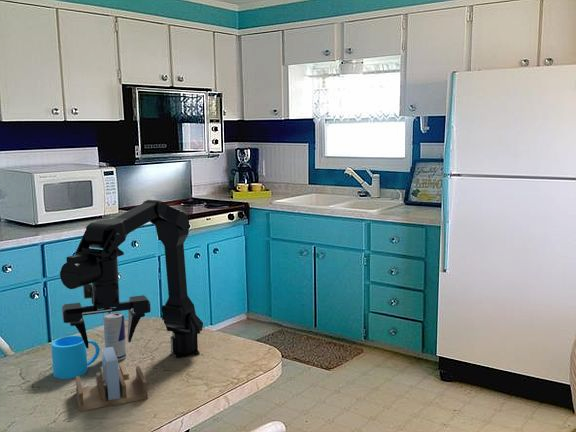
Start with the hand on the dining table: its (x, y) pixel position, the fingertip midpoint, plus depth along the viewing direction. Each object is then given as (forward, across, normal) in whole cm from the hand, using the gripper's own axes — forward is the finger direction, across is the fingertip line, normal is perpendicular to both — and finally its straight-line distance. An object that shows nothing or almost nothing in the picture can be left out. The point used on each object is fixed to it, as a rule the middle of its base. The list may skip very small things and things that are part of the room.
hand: (108, 344), depth 135 cm
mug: (+12, +6, -19) cm, 24 cm away
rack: (+12, 0, 0) cm, 12 cm away
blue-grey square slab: (+11, 0, 0) cm, 11 cm away
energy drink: (+12, -4, -23) cm, 27 cm away
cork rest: (+12, -2, -10) cm, 16 cm away
